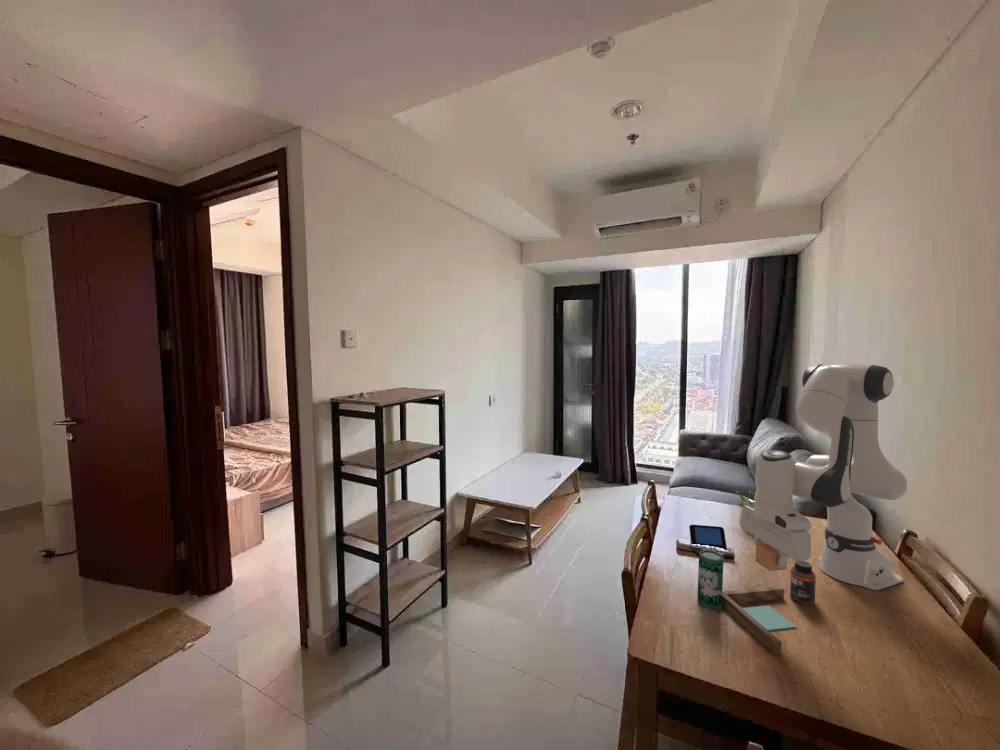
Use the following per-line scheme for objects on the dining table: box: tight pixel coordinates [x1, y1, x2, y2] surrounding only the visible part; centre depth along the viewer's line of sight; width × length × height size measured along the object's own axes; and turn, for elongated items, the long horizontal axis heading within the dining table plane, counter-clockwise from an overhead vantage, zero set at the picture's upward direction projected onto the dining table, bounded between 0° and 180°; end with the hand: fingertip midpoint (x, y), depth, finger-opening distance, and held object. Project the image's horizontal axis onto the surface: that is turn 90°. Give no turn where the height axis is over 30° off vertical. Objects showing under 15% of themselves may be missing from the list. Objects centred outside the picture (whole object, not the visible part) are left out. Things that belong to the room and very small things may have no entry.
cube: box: [755, 542, 788, 572], centre depth 109 cm, size 5×5×5 cm
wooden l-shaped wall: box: [722, 585, 785, 655], centre depth 109 cm, size 21×21×3 cm
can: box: [696, 550, 725, 612], centre depth 116 cm, size 6×6×15 cm
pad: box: [742, 604, 797, 632], centre depth 111 cm, size 9×9×1 cm
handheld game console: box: [688, 524, 734, 559], centre depth 148 cm, size 12×11×7 cm
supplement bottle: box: [789, 560, 817, 606], centre depth 119 cm, size 6×6×11 cm
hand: (770, 559), depth 110 cm, fingers closed on cube, 5 cm apart
